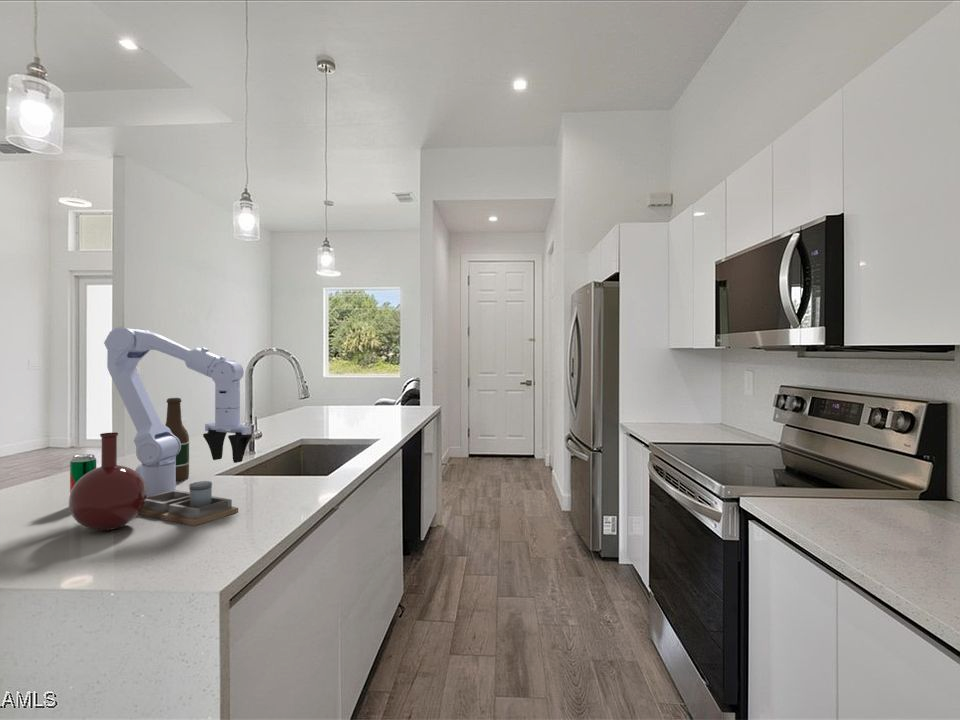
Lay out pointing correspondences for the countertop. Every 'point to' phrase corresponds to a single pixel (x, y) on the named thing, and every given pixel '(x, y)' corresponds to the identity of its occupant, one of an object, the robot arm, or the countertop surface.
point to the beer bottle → (181, 433)
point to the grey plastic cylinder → (200, 494)
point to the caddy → (185, 508)
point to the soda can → (80, 467)
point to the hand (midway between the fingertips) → (227, 460)
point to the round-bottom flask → (107, 492)
